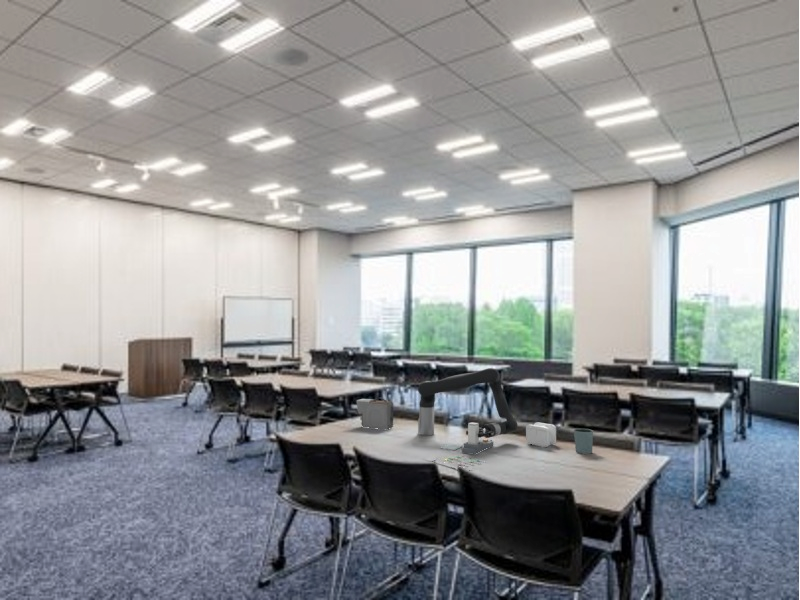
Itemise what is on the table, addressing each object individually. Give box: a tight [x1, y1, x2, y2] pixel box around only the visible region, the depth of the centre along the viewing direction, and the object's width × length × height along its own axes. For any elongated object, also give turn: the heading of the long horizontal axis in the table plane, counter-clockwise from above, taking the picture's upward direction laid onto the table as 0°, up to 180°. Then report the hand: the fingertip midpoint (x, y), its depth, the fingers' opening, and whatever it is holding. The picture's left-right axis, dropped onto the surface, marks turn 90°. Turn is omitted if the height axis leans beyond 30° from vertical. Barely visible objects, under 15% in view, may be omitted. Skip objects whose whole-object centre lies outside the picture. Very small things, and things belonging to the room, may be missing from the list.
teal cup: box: [573, 428, 594, 455], centre depth 298 cm, size 10×10×12 cm
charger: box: [467, 422, 480, 445], centre depth 300 cm, size 4×4×13 cm
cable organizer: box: [525, 421, 557, 448], centre depth 315 cm, size 15×11×12 cm
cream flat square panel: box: [445, 455, 485, 467], centre depth 279 cm, size 30×30×2 cm
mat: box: [439, 443, 463, 451], centre depth 307 cm, size 9×9×1 cm
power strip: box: [461, 438, 494, 455], centre depth 307 cm, size 8×30×4 cm, turn 147°
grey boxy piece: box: [356, 384, 394, 430], centre depth 364 cm, size 12×24×30 cm, turn 67°
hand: (472, 434), depth 299 cm, fingers open, 8 cm apart
